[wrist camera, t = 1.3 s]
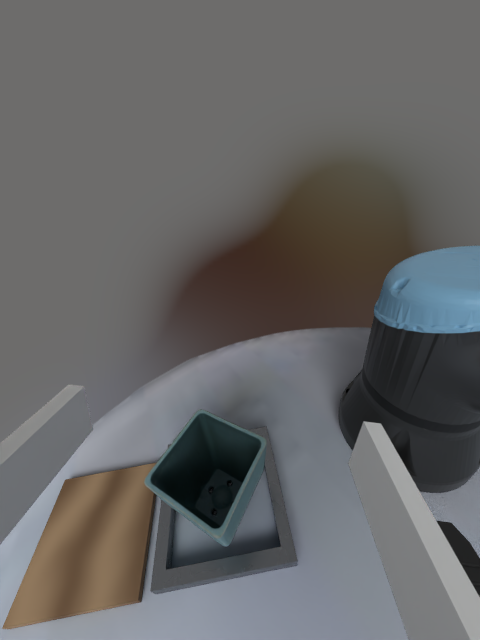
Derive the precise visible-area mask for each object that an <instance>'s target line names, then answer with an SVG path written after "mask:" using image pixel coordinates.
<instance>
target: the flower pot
mask: <svg viewBox="0 0 480 640" xmlns="http://www.w3.org/2000/svg"><path fill="white" fill-rule="evenodd" d="M266 446H267V440H266V439H265V438H264V437H262V436H260V435H258V434H255V433H253V432H251V431H249V430H246V429H244V428H242V427H240V426H237V425H235V424H233V423H231V422H228V421H226V420H224V419H222V418H220V417H218V416H216V415H214V414H211V413H210V412H208V411H206V410H202V409H199V410H198V411H197V412H196V413H195V414H194V415H193V417H192V418H191V419H190V421H189V422H188V423H187V424H186V426H185V427H184V428H183V430H182V431H181V432H180V433H179V435H178V436H177V438H176V439H175V440H174V441H173V443H172V444H171V445H170V446H169V448H168V449H167V450H166V452H165V453H164V454H163V455H162V457H161V458H160V459H159V461H158V462H157V463H156V464H155V465H154V467H153V468H152V469H151V471H150V472H149V473H148V475H147V476H146V478H145V480H144V484H145V485H146V486H147V487H148V488H149V489H150V490H151V491H152V492H154V493H155V494H156V495H157V496H158V497H159V498H161V499H162V500H163V501H164V502H165V503H167V504H168V505H169V506H171V507H172V508H173V509H175V510H176V511H177V512H179V513H180V514H181V515H183V516H184V517H185V518H187V519H188V520H189V521H191V522H192V523H193V524H195V525H196V526H197V527H198V528H200V529H201V530H202V531H204V532H205V533H206V534H208V535H209V536H210V537H212V538H213V539H214V540H216V541H217V542H218V543H219V544H221V545H222V546H228V545H230V543H231V542H232V539H233V537H234V535H235V533H236V530H237V528H238V526H239V524H240V521H241V519H242V517H243V515H244V512H245V510H246V508H247V506H248V503H249V501H250V499H251V497H252V495H253V492H254V490H255V488H256V486H257V484H258V482H259V480H260V477H261V475H262V472H263V469H264V464H265V456H266ZM228 482H232V485H231V486H228ZM211 488H213V492H212V493H210V492H209V490H210V489H211ZM213 510H216V511H217V514H216V515H215V516H213V515H212V512H213Z"/></svg>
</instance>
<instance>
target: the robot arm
mask: <svg viewBox="0 0 480 640" xmlns="http://www.w3.org/2000/svg"><path fill="white" fill-rule="evenodd" d="M339 422H340V427H341V430H342V433H343V435H344V437H345V439H346V441H347V443H348V444H349V446H350V447H351V449H352V450H353V452H352V455H351V457H350V460H349V463H348V464H349V467H350V470H351V473H352V476H353V479H354V482H355V485H356V487H357V490H358V493H359V496H360V499H361V502H362V505H363V508H364V511H365V514H366V517H367V520H368V522H369V525H370V528H371V531H372V534H373V537H374V540H375V543H376V546H377V549H378V552H379V554H380V557H381V560H382V563H383V566H384V569H385V572H386V575H387V578H388V581H389V584H390V586H391V589H392V592H393V595H394V598H395V601H396V604H397V607H398V610H399V613H400V616H401V618H402V621H403V624H404V627H405V630H406V633H407V636H408V639H409V640H480V558H479V557H478V555H477V553H476V552H475V550H474V549H473V547H472V546H471V544H470V542H469V541H468V540H467V539H466V538H465V537H464V536H463V535H462V534H461V533H460V532H459V531H458V530H457V528H456V527H455V526H454V525H453V524H452V523H449V522H442V521H436V520H435V518H434V516H433V514H432V513H431V511H430V509H429V507H428V506H427V504H426V502H425V500H424V499H423V497H422V495H421V493H420V491H421V492H429V493H440V492H447V491H451V490H454V489H457V488H459V487H461V486H462V485H464V484H465V483H466V482H467V481H468V480H469V479H470V478H471V477H472V476H473V475H474V473H475V472H476V471H477V470H478V468H479V466H480V246H463V247H452V248H445V249H438V250H434V251H429V252H425V253H421V254H418V255H415V256H412V257H410V258H407V259H405V260H404V261H402V262H400V263H399V264H397V265H396V266H395V267H393V269H392V270H391V271H390V272H389V273H388V275H387V276H386V278H385V281H384V283H383V287H382V290H381V293H380V296H379V299H378V301H377V303H376V304H375V306H374V320H373V324H372V328H371V333H370V337H369V342H368V346H367V351H366V355H365V360H364V365H363V369H362V370H361V371H360V373H359V374H358V375H357V376H356V377H355V379H354V380H353V381H352V382H351V383H350V384H349V385H348V387H347V388H346V389H345V391H344V393H343V395H342V398H341V403H340V408H339ZM92 430H93V426H92V421H91V416H90V411H89V407H88V402H87V397H86V392H85V387H84V386H77V385H68V386H67V387H65V388H64V389H63V390H62V391H61V392H60V393H59V394H57V395H56V396H55V397H54V398H53V399H51V400H50V401H49V402H48V403H47V404H46V405H44V406H43V407H42V408H41V409H40V410H39V411H37V412H36V413H35V414H34V415H33V416H32V417H30V418H29V419H28V420H27V421H26V422H25V423H23V424H22V425H21V426H20V427H19V428H18V429H16V430H15V431H14V432H13V433H12V434H11V435H10V436H9V437H7V438H6V439H5V440H4V441H2V442H1V443H0V544H1V543H2V542H3V541H4V539H5V538H6V537H7V536H8V534H9V533H10V532H11V531H12V529H13V528H14V527H15V526H16V524H17V523H18V522H19V521H20V519H21V518H22V517H23V516H24V514H25V513H26V512H27V511H28V510H29V508H30V507H31V506H32V505H33V503H34V502H35V501H36V500H37V498H38V497H39V496H40V495H41V493H42V492H43V491H44V490H45V488H46V487H47V486H48V485H49V483H50V482H51V481H52V480H53V478H54V477H55V476H56V475H57V474H58V472H59V471H60V470H61V469H62V467H63V466H64V465H65V464H66V462H67V461H68V460H69V459H70V457H71V456H72V455H73V454H74V452H75V451H76V450H77V449H78V447H79V446H80V445H81V444H82V443H83V441H84V440H85V439H86V438H87V436H88V435H89V434H90V433H91V431H92Z"/></svg>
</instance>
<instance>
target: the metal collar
mask: <svg viewBox="0 0 480 640" xmlns="http://www.w3.org/2000/svg"><path fill="white" fill-rule="evenodd" d="M249 431H251V432H253V433H255V434H258V435H260V436H262V437H264V438H265V439H266V440H267V446H266V456H265V469H266V474H267V479H268V485H269V490H270V495H271V500H272V505H273V510H274V515H275V520H276V525H277V531H278V536H279V541H280V546H281V547H276V548H271V549H266V550H261V551H256V552H252V553H247V554H242V555H237V556H232V557H227V558H222V559H217V560H212V561H207V562H202V563H197V564H192V565H187V566H182V567H177V568H172V569H171V556H172V544H173V532H174V519H175V509H173V508H172V507H171V506H169V505H168V504H167V503H165V502H164V501H163V500H162V501H161V509H160V517H159V525H158V533H157V542H156V550H155V558H154V566H153V575H152V583H151V592H153V593H154V594H160V593H165V592H169V591H174V590H179V589H184V588H189V587H194V586H199V585H204V584H209V583H213V582H218V581H223V580H228V579H233V578H238V577H243V576H248V575H252V574H257V573H262V572H267V571H272V570H277V569H282V568H287V567H292V566H296V565H297V557H296V553H295V548H294V544H293V540H292V535H291V531H290V527H289V522H288V518H287V514H286V509H285V505H284V501H283V496H282V492H281V488H280V483H279V479H278V475H277V470H276V466H275V461H274V457H273V453H272V448H271V444H270V440H269V435H268V431H267V427H261V428H256V429H251V430H249ZM170 445H171V444H170ZM170 445H168V448H169V446H170Z"/></svg>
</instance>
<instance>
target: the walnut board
mask: <svg viewBox="0 0 480 640" xmlns="http://www.w3.org/2000/svg"><path fill="white" fill-rule="evenodd" d="M155 464H156V463H152V464H147V465H141V466H136V467H131V468H125V469H120V470H115V471H109V472H104V473H99V474H93V475H88V476H83V477H78V478H72V479H67V480H65V482H64V484H63V486H62V489H61V491H60V493H59V496H58V498H57V500H56V503H55V505H54V508H53V510H52V512H51V515H50V517H49V519H48V522H47V524H46V526H45V529H44V531H43V533H42V536H41V538H40V541H39V543H38V545H37V548H36V550H35V552H34V555H33V557H32V559H31V562H30V564H29V566H28V569H27V571H26V574H25V576H24V578H23V581H22V583H21V585H20V588H19V590H18V592H17V595H16V597H15V599H14V602H13V604H12V606H11V609H10V611H9V614H8V616H7V618H6V621H5V623H4V625H3V629H12V628H17V627H22V626H27V625H32V624H36V623H41V622H46V621H51V620H56V619H61V618H66V617H71V616H75V615H80V614H85V613H90V612H95V611H100V610H105V609H110V608H114V607H119V606H124V605H129V604H134V603H139V602H141V599H142V592H143V585H144V578H145V571H146V564H147V556H148V549H149V542H150V535H151V528H152V521H153V513H154V506H155V499H156V494H155V493H154V492H152V491H151V490H150V489H149V488H148V487H147V486H146V485H145V484H144V480H145V478H146V476H147V475H148V473H149V472H150V471H151V469H152V468H153V467H154V465H155Z"/></svg>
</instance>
